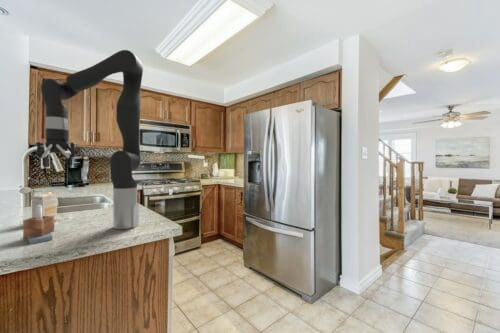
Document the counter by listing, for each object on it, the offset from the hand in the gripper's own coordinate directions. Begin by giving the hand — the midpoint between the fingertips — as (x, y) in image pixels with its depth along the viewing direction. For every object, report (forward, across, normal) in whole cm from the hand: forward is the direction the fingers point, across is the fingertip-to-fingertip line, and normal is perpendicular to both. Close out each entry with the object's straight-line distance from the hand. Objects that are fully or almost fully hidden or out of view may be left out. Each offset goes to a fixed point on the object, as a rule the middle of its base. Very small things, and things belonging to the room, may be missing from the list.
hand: (57, 167), depth 97 cm
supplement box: (+26, +10, -8) cm, 29 cm away
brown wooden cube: (+24, -2, +13) cm, 28 cm away
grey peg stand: (+26, -2, +13) cm, 29 cm away
